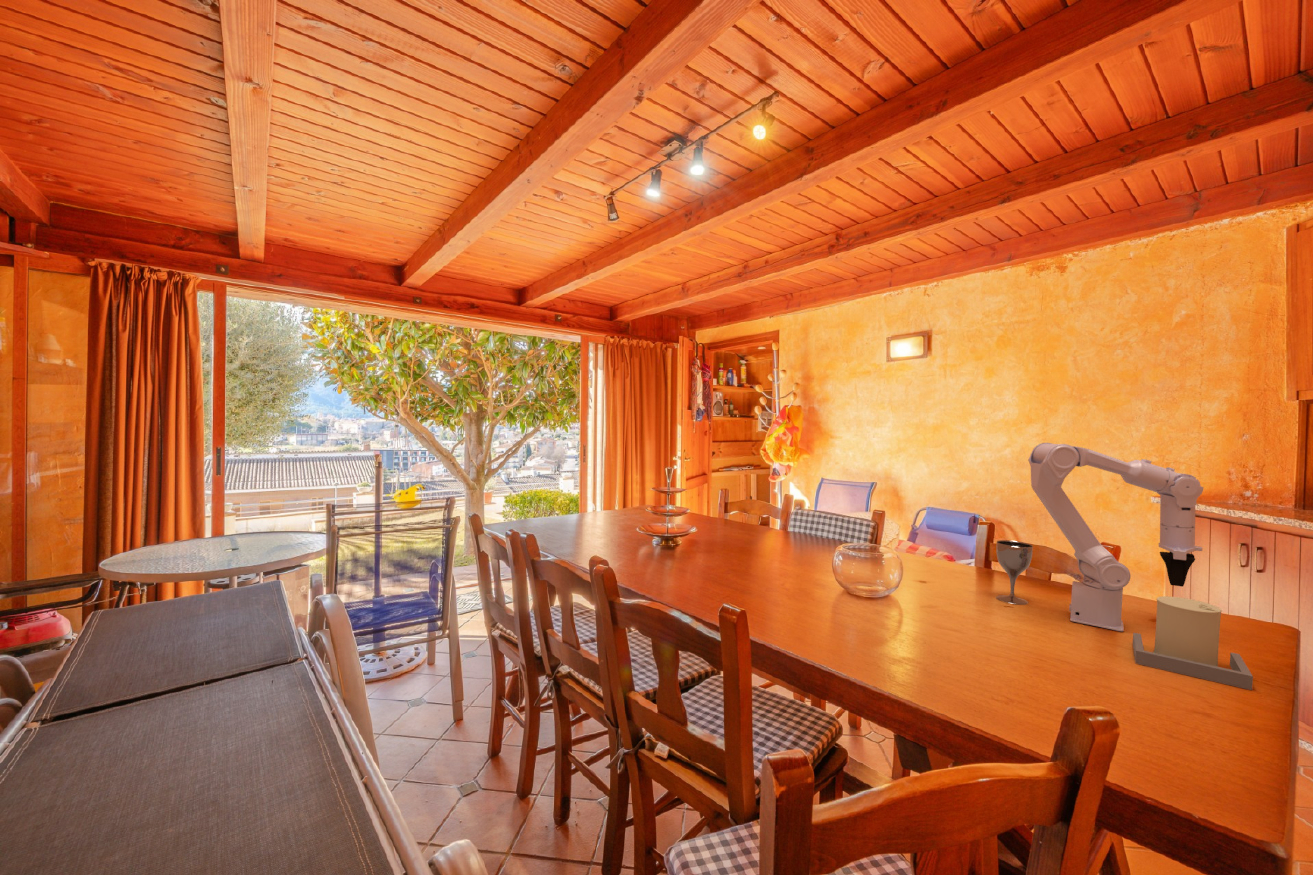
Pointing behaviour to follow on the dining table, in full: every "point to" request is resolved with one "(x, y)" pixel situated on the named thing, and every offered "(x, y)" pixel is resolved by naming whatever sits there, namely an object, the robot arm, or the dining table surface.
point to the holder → (1195, 666)
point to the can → (1187, 629)
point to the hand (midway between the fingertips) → (1176, 585)
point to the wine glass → (1013, 564)
